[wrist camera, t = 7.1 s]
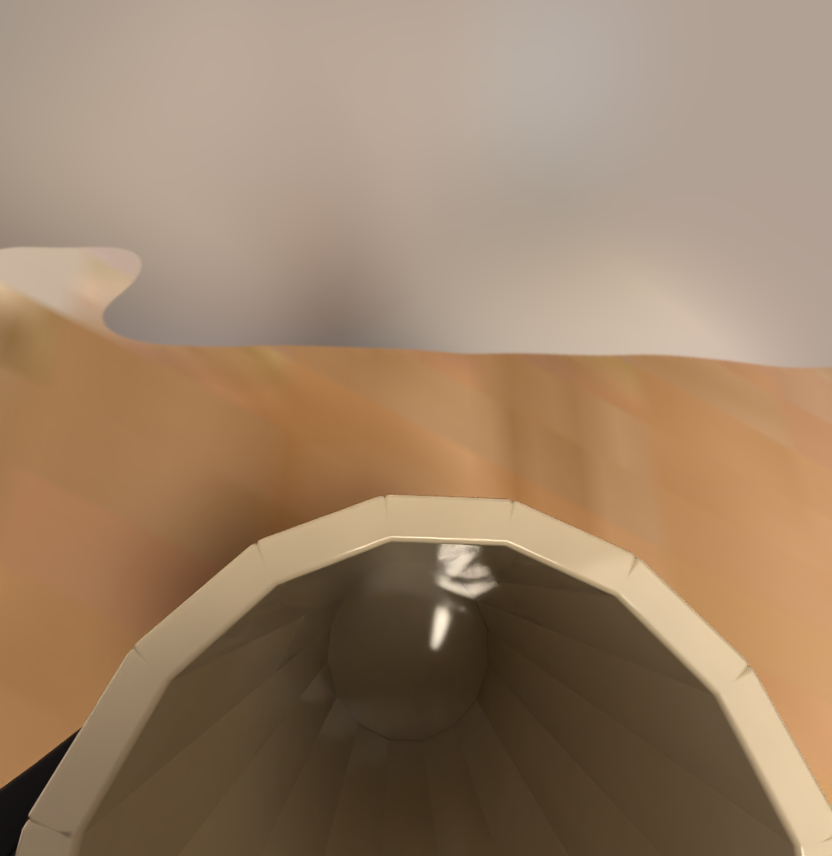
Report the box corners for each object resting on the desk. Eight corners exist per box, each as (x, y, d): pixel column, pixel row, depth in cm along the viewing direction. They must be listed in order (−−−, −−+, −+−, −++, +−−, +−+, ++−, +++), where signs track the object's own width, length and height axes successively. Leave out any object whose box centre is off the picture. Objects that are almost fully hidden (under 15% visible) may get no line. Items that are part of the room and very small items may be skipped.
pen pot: (454, 782, 13) (882, 2402, 2) (286, 693, 14) (-317, 1364, 2) (518, 594, 15) (918, 679, 4) (368, 523, 16) (284, 395, 4)
